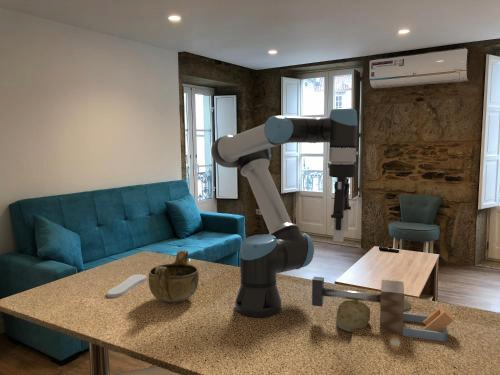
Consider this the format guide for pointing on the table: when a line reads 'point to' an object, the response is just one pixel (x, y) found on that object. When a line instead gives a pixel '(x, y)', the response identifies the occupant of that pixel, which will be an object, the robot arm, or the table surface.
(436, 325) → the spacer
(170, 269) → the ceramic bowl
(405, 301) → the sea urchin shell
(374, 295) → the shaft
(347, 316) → the decorative item
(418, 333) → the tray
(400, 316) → the block
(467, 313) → the table surface
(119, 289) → the long curved white strip
